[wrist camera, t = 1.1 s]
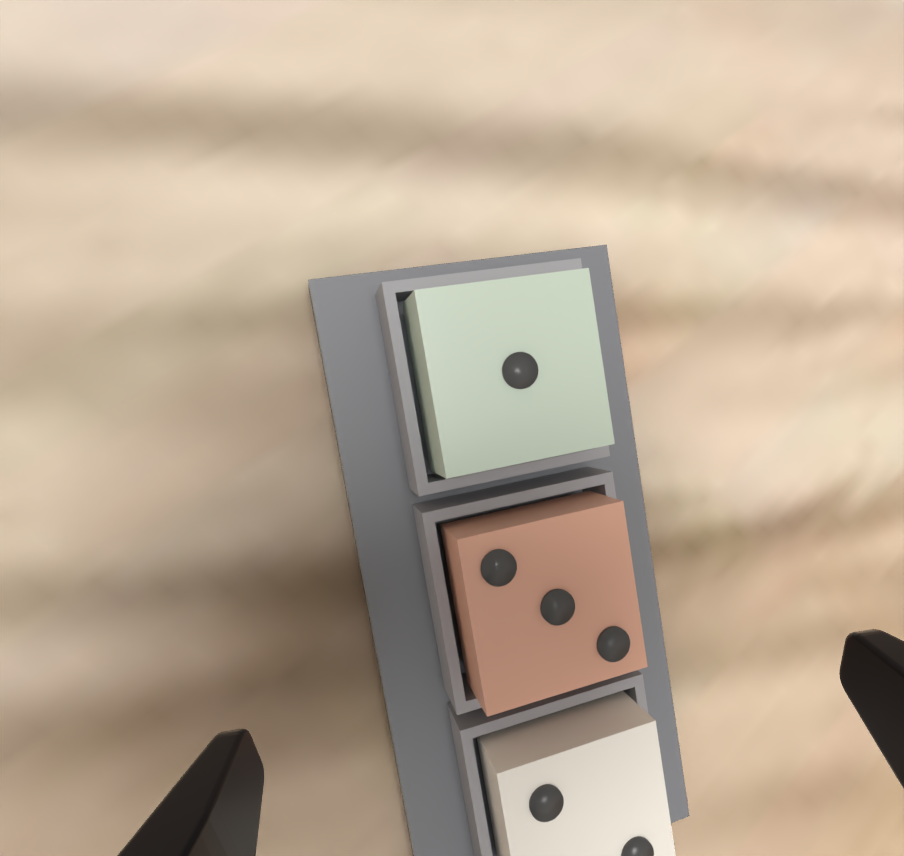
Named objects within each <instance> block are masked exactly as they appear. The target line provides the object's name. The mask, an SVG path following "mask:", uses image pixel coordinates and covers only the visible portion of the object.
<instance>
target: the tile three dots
mask: <svg viewBox="0 0 904 856" xmlns="http://www.w3.org/2000/svg"><path fill="white" fill-rule="evenodd" d="M440 527H441V533H442V539H443V544H444V550H445V556H446V562H447V568H448V573H449V579H450V585H451V591H452V597H453V602H454V608H455V614H456V620H457V626H458V631H459V637H460V643H461V649H462V655H463V660H464V666H465V672H466V678H467V682H468V684H469V686H470V687H471V689H472V691H473V693H474V694H475V696H476V698H477V700H478V702H479V703H480V705H481V707H482V709H483V711H484V712H485V714H486V716H487V717H488V716H491V715H495V714H498V713H501V712H504V711H507V710H511V709H514V708H517V707H520V706H523V705H527V704H530V703H533V702H536V701H540V700H543V699H546V698H549V697H552V696H556V695H559V694H562V693H565V692H568V691H572V690H575V689H578V688H581V687H584V686H588V685H591V684H594V683H597V682H601V681H604V680H607V679H610V678H613V677H617V676H620V675H623V674H626V673H629V672H633V671H636V670H639V669H642V668H646V667H648V665H647V658H646V652H645V645H644V638H643V631H642V624H641V618H640V611H639V604H638V597H637V591H636V584H635V577H634V570H633V564H632V557H631V550H630V543H629V536H628V530H627V523H626V516H625V509H624V503H623V501H622V500H619V499H615V498H612V497H608V496H605V495H602V494H598V493H595V492H592V491H586V492H581V493H577V494H573V495H568V496H564V497H559V498H555V499H550V500H546V501H541V502H537V503H533V504H528V505H524V506H519V507H515V508H510V509H506V510H501V511H497V512H493V513H488V514H484V515H479V516H475V517H470V518H466V519H462V520H457V521H453V522H448V523H444V524H440Z"/></svg>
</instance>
